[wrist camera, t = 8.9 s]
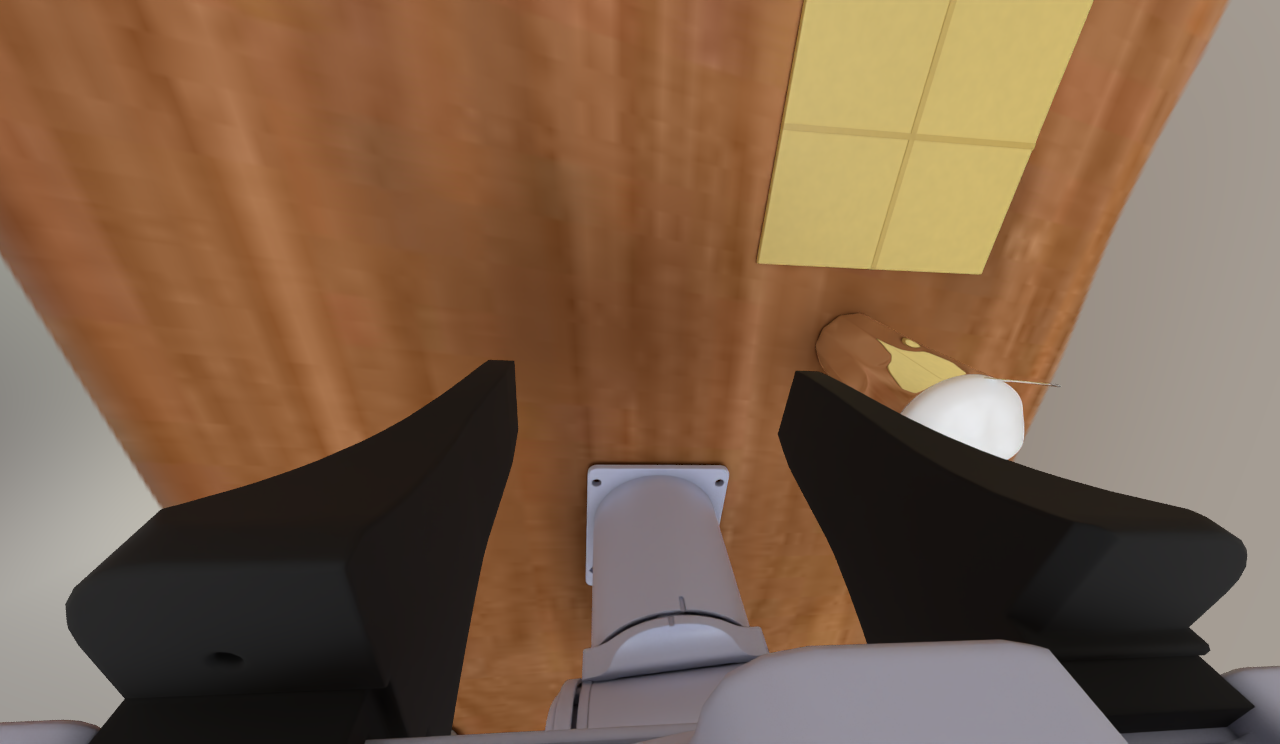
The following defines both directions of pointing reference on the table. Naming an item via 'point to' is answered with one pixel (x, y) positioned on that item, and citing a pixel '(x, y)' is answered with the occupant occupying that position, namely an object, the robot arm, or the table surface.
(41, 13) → the table surface
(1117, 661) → the robot arm
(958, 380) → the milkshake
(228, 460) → the table surface
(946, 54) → the napkin
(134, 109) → the table surface
